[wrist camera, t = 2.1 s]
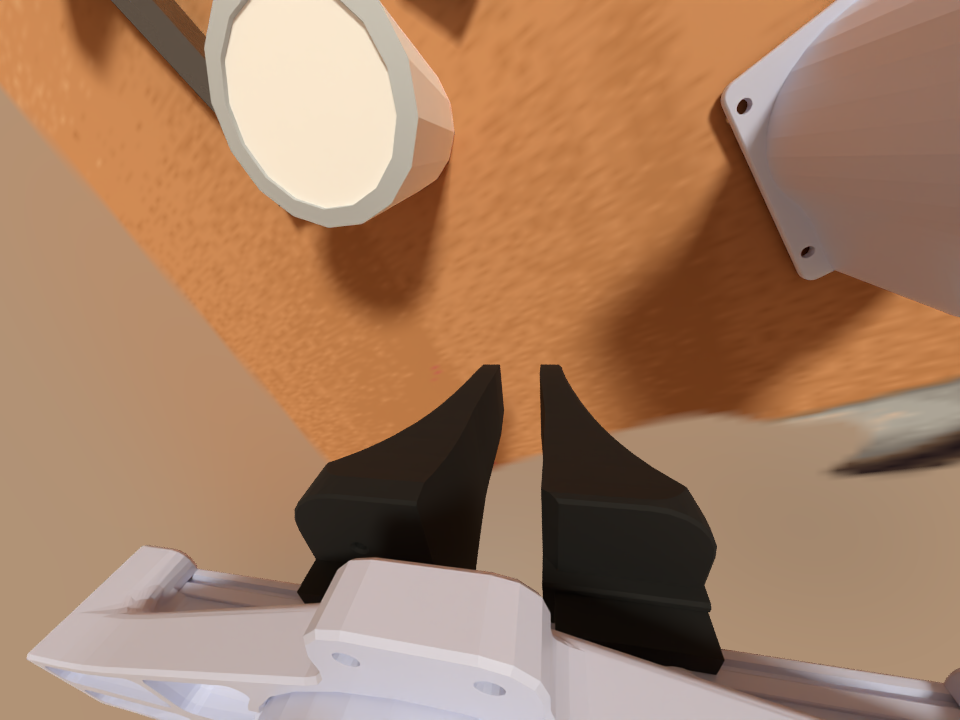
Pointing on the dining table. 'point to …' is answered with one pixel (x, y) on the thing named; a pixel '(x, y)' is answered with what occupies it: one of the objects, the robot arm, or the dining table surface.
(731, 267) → the dining table surface
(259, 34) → the shot glass
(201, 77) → the grey hook bracket
